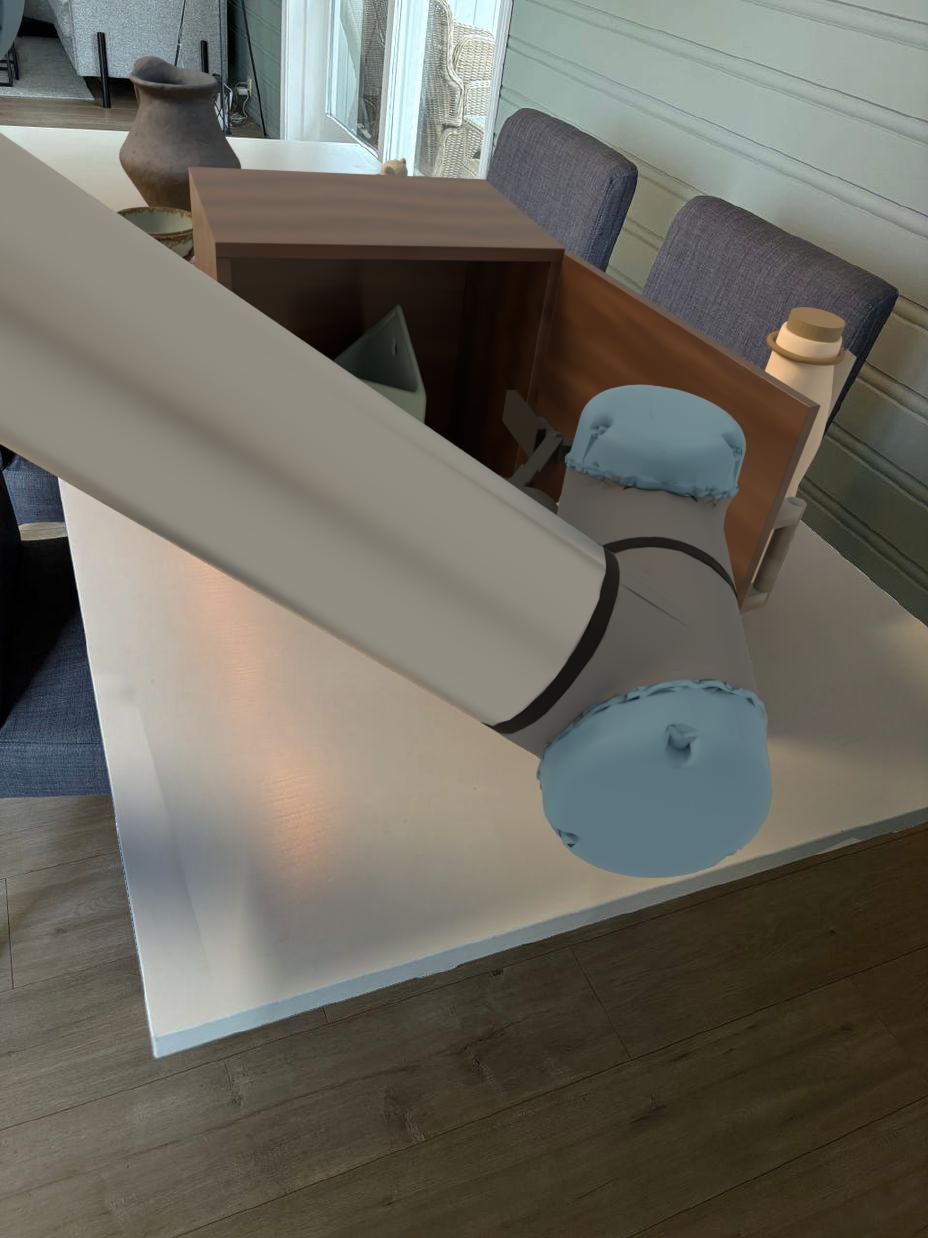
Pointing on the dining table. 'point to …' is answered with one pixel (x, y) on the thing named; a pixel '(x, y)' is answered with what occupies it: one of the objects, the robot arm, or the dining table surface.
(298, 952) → the dining table surface
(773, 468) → the cupboard door
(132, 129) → the pitcher
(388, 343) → the planter
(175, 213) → the bowl
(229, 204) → the cupboard
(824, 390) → the water bottle
